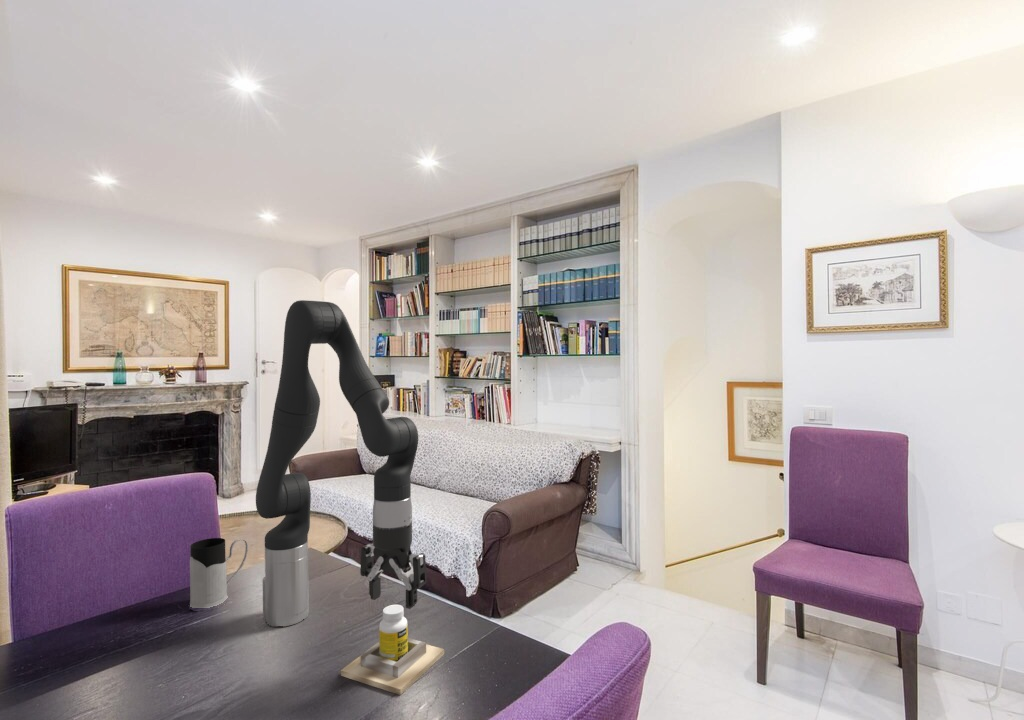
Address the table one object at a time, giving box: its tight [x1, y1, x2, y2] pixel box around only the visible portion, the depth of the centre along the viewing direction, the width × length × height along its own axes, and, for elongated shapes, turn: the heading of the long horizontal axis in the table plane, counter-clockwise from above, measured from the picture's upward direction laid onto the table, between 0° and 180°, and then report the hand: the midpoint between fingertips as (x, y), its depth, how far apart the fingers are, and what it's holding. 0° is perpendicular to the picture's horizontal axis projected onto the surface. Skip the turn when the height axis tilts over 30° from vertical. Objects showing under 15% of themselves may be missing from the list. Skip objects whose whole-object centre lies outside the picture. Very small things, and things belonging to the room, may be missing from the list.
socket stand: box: [340, 637, 445, 696], centre depth 100 cm, size 14×14×3 cm
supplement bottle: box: [378, 604, 409, 662], centre depth 100 cm, size 5×5×10 cm
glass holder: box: [189, 537, 249, 608], centre depth 130 cm, size 9×14×15 cm, turn 145°
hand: (392, 602), depth 100 cm, fingers open, 8 cm apart
